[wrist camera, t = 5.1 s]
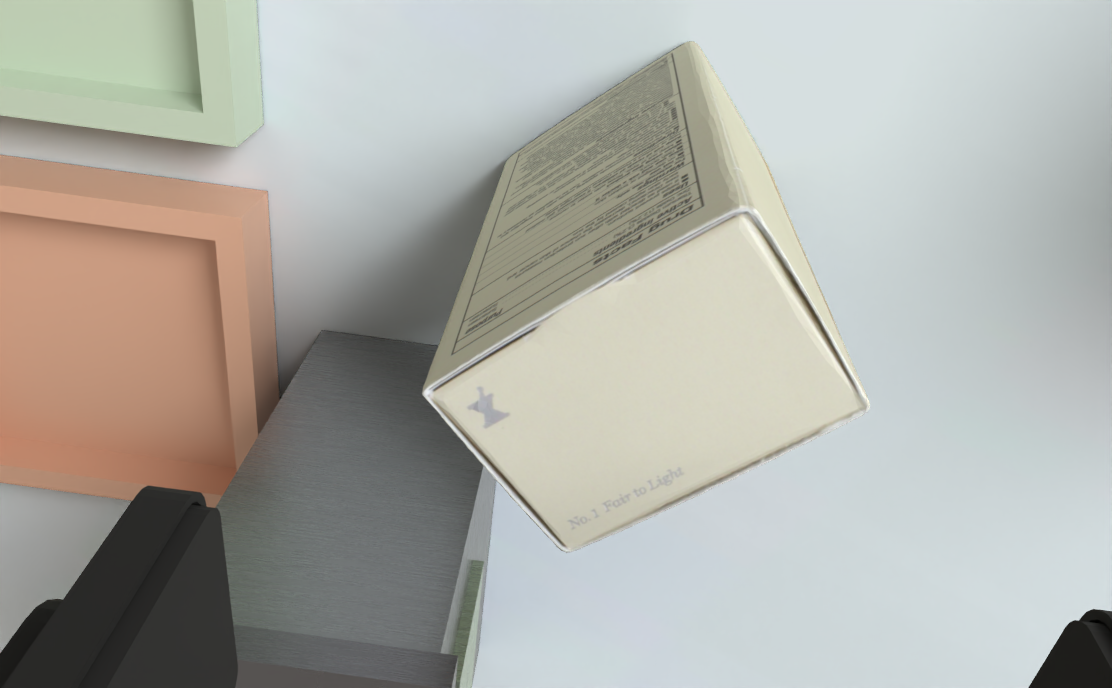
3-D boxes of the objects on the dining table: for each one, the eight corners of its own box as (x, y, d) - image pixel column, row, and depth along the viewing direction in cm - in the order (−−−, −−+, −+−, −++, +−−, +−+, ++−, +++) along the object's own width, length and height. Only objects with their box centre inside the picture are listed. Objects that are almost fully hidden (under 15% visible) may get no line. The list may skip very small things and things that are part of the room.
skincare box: (587, 273, 27) (557, 569, 16) (499, 152, 25) (403, 397, 15) (778, 163, 24) (884, 423, 14) (696, 22, 23) (750, 200, 12)
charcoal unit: (522, 346, 28) (451, 689, 17) (487, 659, 36) (423, 1033, 25) (308, 317, 28) (102, 641, 17) (320, 635, 36) (181, 999, 25)
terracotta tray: (267, 191, 26) (241, 217, 24) (284, 480, 32) (264, 518, 30) (-105, 140, 26) (-156, 163, 24) (-21, 438, 32) (-59, 474, 30)
